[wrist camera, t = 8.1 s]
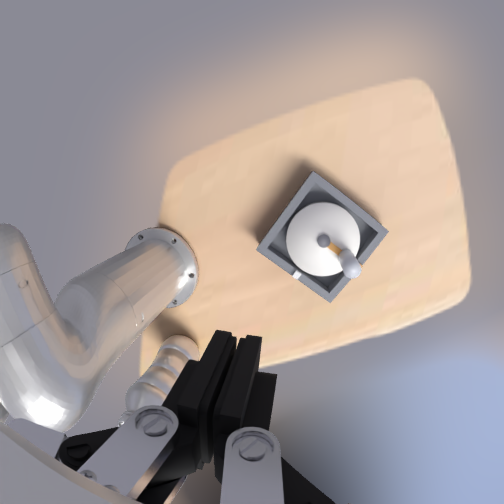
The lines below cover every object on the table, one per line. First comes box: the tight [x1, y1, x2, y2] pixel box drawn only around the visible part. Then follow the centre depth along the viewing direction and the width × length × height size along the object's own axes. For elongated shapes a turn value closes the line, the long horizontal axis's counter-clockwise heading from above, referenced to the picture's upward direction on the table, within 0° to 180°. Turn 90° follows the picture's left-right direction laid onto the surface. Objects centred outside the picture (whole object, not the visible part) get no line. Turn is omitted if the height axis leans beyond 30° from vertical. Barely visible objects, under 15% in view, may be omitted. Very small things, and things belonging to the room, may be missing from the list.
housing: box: [256, 171, 389, 303], centre depth 36 cm, size 12×12×4 cm
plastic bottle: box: [118, 335, 200, 427], centre depth 36 cm, size 6×7×20 cm
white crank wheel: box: [286, 202, 361, 279], centre depth 33 cm, size 9×9×7 cm
